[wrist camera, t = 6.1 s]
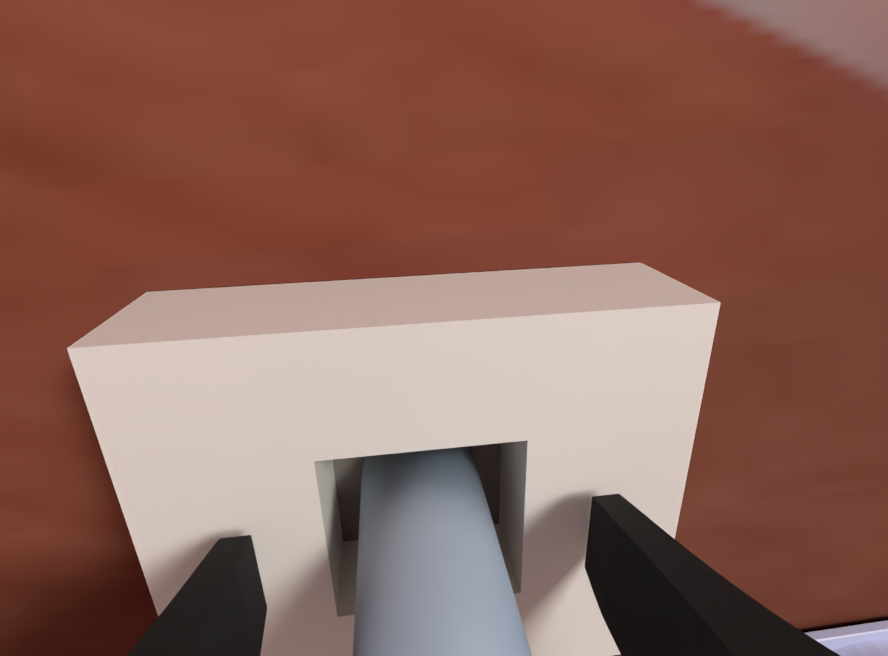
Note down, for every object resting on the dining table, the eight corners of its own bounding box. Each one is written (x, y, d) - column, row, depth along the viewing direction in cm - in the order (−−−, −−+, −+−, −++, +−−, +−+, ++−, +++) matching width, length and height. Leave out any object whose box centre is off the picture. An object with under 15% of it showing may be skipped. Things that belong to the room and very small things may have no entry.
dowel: (476, 507, 14) (562, 838, 7) (369, 522, 14) (360, 879, 7) (472, 415, 13) (570, 710, 6) (354, 429, 12) (328, 753, 6)
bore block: (603, 556, 16) (653, 649, 13) (228, 603, 15) (193, 717, 12) (640, 262, 13) (720, 302, 10) (146, 291, 11) (67, 348, 8)
